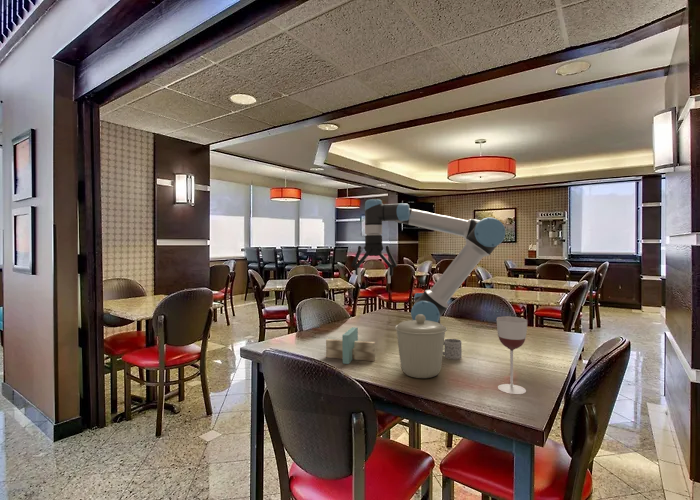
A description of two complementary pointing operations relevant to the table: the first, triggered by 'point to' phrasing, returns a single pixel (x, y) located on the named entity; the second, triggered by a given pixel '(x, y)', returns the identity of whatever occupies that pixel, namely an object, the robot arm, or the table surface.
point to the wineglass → (511, 345)
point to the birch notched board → (359, 352)
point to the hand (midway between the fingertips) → (374, 282)
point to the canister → (420, 346)
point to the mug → (452, 349)
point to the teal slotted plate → (349, 344)
